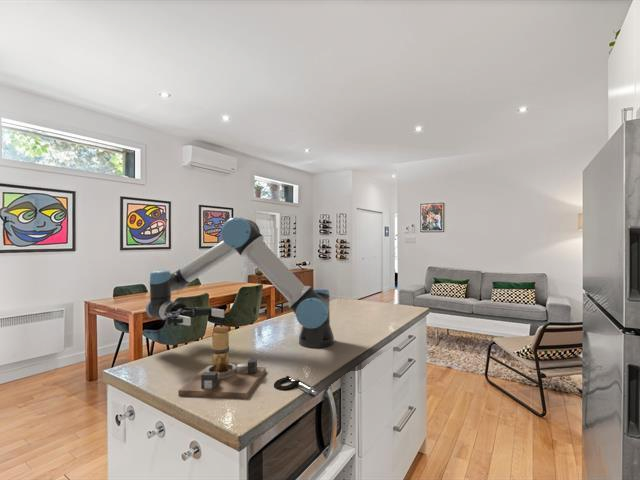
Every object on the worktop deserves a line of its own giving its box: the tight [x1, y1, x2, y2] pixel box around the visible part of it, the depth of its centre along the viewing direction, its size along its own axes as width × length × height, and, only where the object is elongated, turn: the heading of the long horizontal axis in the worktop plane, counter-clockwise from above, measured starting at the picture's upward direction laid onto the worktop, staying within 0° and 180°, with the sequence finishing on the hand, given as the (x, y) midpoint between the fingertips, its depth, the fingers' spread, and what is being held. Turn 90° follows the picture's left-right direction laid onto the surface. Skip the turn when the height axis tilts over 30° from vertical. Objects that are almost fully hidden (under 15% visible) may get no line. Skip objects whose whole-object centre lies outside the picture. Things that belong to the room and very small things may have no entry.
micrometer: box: [273, 375, 318, 396], centre depth 96 cm, size 15×7×3 cm, turn 39°
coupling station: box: [177, 357, 267, 399], centre depth 101 cm, size 20×19×5 cm
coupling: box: [211, 326, 230, 373], centre depth 105 cm, size 5×5×15 cm
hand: (207, 317), depth 115 cm, fingers open, 13 cm apart
